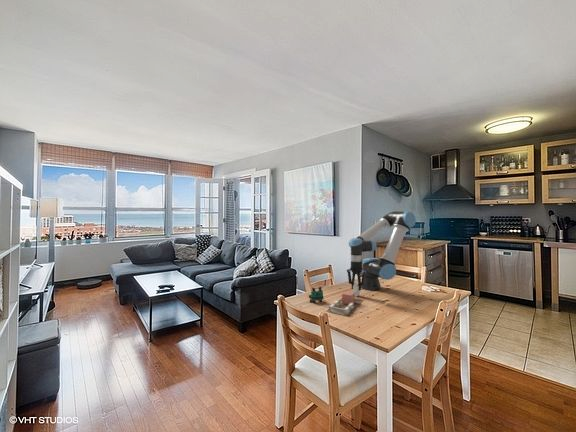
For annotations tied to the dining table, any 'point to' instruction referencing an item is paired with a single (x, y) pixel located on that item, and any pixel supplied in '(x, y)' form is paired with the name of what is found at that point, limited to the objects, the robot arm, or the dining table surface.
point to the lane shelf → (344, 307)
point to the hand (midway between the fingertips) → (356, 294)
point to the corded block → (349, 295)
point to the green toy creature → (316, 295)
